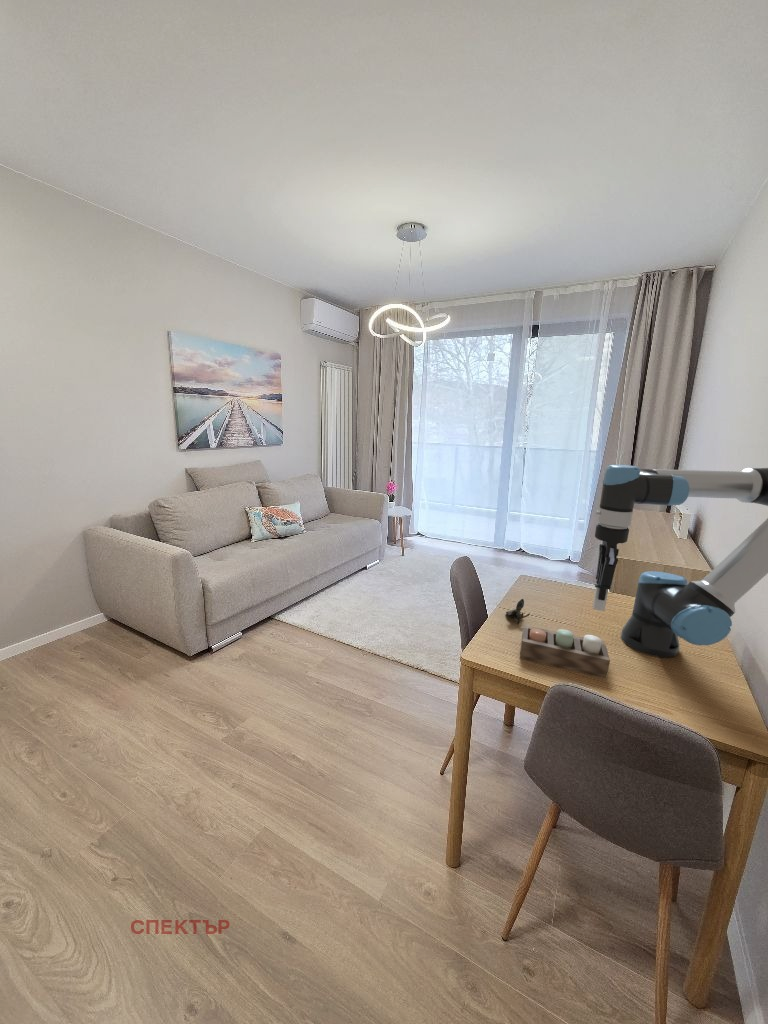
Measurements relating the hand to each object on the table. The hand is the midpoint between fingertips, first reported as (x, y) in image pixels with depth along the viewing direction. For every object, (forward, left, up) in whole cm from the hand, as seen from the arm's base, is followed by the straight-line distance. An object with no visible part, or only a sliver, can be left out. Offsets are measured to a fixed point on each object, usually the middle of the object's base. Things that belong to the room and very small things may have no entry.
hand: (598, 609), depth 112 cm
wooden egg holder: (+7, +1, -17) cm, 18 cm away
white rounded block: (0, +1, -14) cm, 14 cm away
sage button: (+7, +1, -14) cm, 15 cm away
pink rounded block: (+14, +1, -15) cm, 21 cm away
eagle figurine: (+21, -19, -17) cm, 33 cm away
